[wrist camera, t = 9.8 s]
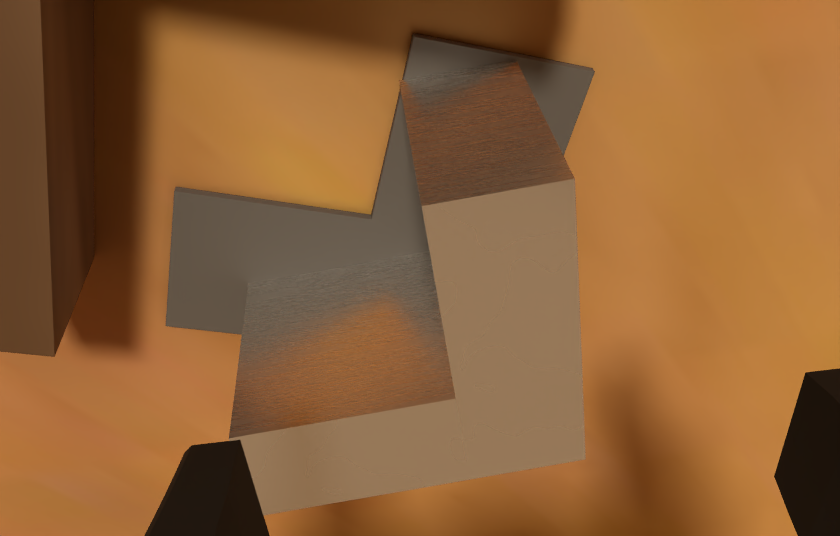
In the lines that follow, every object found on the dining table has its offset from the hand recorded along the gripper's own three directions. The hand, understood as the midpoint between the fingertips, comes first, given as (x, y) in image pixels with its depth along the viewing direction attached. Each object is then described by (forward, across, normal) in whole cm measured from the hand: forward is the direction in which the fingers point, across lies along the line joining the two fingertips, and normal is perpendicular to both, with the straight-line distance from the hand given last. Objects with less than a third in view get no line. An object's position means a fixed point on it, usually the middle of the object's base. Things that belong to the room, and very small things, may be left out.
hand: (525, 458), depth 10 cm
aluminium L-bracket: (+9, +2, +2) cm, 10 cm away
